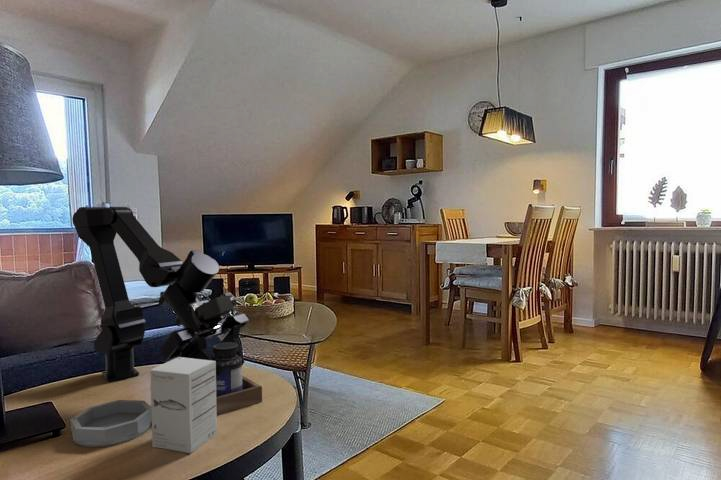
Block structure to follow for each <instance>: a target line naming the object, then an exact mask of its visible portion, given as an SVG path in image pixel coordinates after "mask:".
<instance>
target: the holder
mask: <svg viewBox="0 0 721 480" xmlns="http://www.w3.org/2000/svg"><path fill="white" fill-rule="evenodd" d="M242 389H243V390H241V391H237V392H234V393H230V394H226V395H222V396H219V397H216V408H217V416H218V414H219V415H222V414H225V413H228V411H229V412H232V411H234V410H235V411H236V410H239V409H241V408H245V407H248V406H253V405H256V404H259V403H263V386H262V385H260V384H258V383H256V382H254V381H253V380H252V379H249V378H248V377H246V376H244V375H242Z"/></svg>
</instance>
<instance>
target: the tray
mask: <svg viewBox="0 0 721 480" xmlns="http://www.w3.org/2000/svg"><path fill="white" fill-rule="evenodd" d="M150 427H152V413H151V405H149V404H148V403H147V402H146V401H145V400H133V399H131V400H130V399H117V400H114V401H109V402H105V403H102V404H97V405H93V406H89V407H88V408H86V409H84V410H83V411H81V412H80V413H77V414H76V415H74V416H73V417H71V418H70V431H71V433H72V441H73V443H75V444H76V445H78V446H81V447H85V448H86V447H87V448H100V447H101V448H102V447H109V446H115V445H118V444H119V445H120V444H122V443H125V442H129V441H131V440H133V439H136V438H137V437H140V436H142V435H143V434H145V433H146V432H147V431H149V429H150Z"/></svg>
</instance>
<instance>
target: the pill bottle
mask: <svg viewBox="0 0 721 480" xmlns="http://www.w3.org/2000/svg"><path fill="white" fill-rule="evenodd" d="M237 352H238V344H237V343H233V342H225V343H220V342H219V343H216V344H214V345H213V346H212V353H213V354H214V356H213V358H214V360H215V361H216V363H217V364H218V366H219V368H220V370H221V373H220V374H219V375H216V397H219V396H222V395H226V394H230V393H234V392H237V391H241V390H243V389H242V376H243V365H242V359H241V357H240V356H239V355H237Z"/></svg>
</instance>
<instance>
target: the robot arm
mask: <svg viewBox="0 0 721 480" xmlns="http://www.w3.org/2000/svg"><path fill="white" fill-rule="evenodd" d="M72 224H73V226H74V228H75V229H74V230H75V231H76V234H77V235H78V238H79V239H80V240H81V241H82V242H83V243H84V244H85V245H87V247H89V250H90V254H91V258H92V262H93V265H94V269H95V274H96V278H97V281H98V285H99V288H100V292H101V293H100V294H101V296H102V300H103V304H104V310H103V314H102V316H101V319H100V326H101V331H100V333H99V334H98V335H97V336H96V338H95V339H94V342H93V346H94V351H95V353H99V354H104V355H105V360H104V361H105V370H104V371H102V372H101V375H102V377H103V378H104V379H105V380H106V382H112V381H117V380H121V379H127V378H132V377H135V376H140V371H138V370H137V369H136V368H135V357H134V347H137V346H142V345H143V343H144V342H143V341H144V338H145V334H146V327H147V326H146V323H147V321H146V319H145V317H144V315H143V314H144V313H143V309H142V307H141V306H140V305H137V306H135V305H134V304H133V303H131V301H130V299H129V295H128V292H127V291H128V290H127V288H126V284H125V280H124V276H123V272H122V270H121V269H122V268H121V266H120V262H119V258H118V257H119V256H118V253H117V251H116V246H115V238H116V235H118V237H119V238H120V239H121V240H122V241H123V242H124V244H125V245H126V246H127V248H128V249H129V250H130V251H131V252H132V254H133V255H134V256H135V257H136V259H137V261H138V263H139V266H138V267H139V268H138V271H139V273H140V274H141V277H142V278H143V280H144V281H145V283H146V285H148V286H149V287H150V288H160V287H166V289H165V290H164V291H160V293H159V294H160V295H159V298H158V305H159V306H163V305H168V306H169V307H170V309H171V310H172V312H173V313H174V315H175V316H176V318H177V319H176V321H175V322H174V323H175V325H176V326H177V327H180V326H182V327H183V328H181V329H178V330H174V331H172V332H171V333H170V334H169V336H168V337H167V338H166V340H165V341H164V342H163V344H162V345H161V346H160V347H161V349H160V350H161V351H160V353H161V354H162V357H163V358H164V360H165V361H166V362H168V361H171V360H173V359H175V358H178V357H184V358H193V359H202V360H212V361H215V360H214V358H213V357H214V356H213V355H212V353H211V351H210V349H208V347H207V340H209V339H211V338H215V337H217V338H219V340H220V342H219V343H225V342H233V343H237V344H238V352H237V355H239V356H240V357H241V359H242V366H243V365H244V364H245V359H244V358H245V357H244V355H243V351H242V347H241V344H240V336H239V335H240V333H241V332H242V331H243V329H244V328H245V327H246V326H247V325H248V323H250V320H249V318H248V316H247V315H246V314H245V313H243V312H238V313H235V314H230V315H228V316H227V317H226V319H224V315H226V314H227V313H230V312H234V311H235V307H236V306H237V304H238V303H237V298H236V297H235V295H233V294H232V292H230V291H229V292H223V294H219V295H218V296H219V297H215V298H212V299H210V300H207V299H206V300H203V299H202V298H201V296H200V295H199V294H198V293H202V292H204V291H205V289H206V288H207V287H208V286H209V284H210V283H211V282H212V280H213V279H214V278H215V276H216V275H217V274H218V272H219V270H220V266H219V265H220V264H219V263H218V261H216V259H214V258H212V257H211V256H210V255H207V254H205V253H202V251H200V250H199V249H194V250H190V251H189V252H188V254H187V256H186V258H185V260H184V261H182V260H181V259H180V258H179V257H178V256H177V255H175V254H174V253H173V252H171V251H170V250H167V249H165V248H162V247H161V246H160V245H159V244H158V243H157V242H156V241H155V239H154V238H153V237H152V236H151V234H150V233H149V232H148V231H147V230H146V228H144V226H143V224H141V223H140V221H138V219H137V218H136V217H135V216H134V212H133V210H132V209H131V208H130V207H127V206H109V207H108V206H107V207H106V206H81V207H79V208H78V209H77V210H76V212H74V213H73V215H72ZM223 319H224V321H223V322H222V323H221V324H219V322H221V321H222V320H223ZM220 373H221V370H220V368H219V366H218V364H217V363H216V375H219V374H220Z"/></svg>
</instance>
